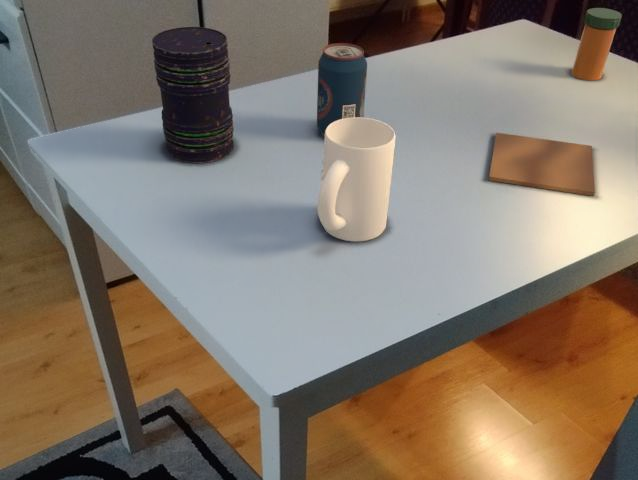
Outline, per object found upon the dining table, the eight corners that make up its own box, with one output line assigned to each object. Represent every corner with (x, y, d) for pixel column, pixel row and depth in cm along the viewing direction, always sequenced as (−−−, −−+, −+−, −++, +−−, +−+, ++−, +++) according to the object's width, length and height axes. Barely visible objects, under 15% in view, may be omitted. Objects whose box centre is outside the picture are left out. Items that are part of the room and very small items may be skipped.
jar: (600, 71, 124) (618, 13, 117) (601, 82, 120) (620, 22, 113) (571, 67, 125) (587, 9, 118) (571, 78, 121) (588, 19, 114)
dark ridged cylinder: (151, 153, 96) (135, 44, 86) (190, 126, 103) (178, 21, 93) (211, 169, 94) (201, 58, 83) (247, 140, 100) (242, 34, 90)
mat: (590, 149, 101) (592, 145, 101) (593, 196, 91) (595, 192, 91) (495, 136, 103) (496, 132, 103) (488, 180, 94) (489, 176, 93)
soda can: (310, 124, 105) (312, 43, 96) (353, 119, 106) (358, 39, 98) (324, 144, 100) (327, 61, 92) (369, 139, 102) (375, 56, 93)
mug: (290, 243, 81) (289, 149, 73) (340, 199, 89) (345, 110, 80) (350, 266, 78) (356, 171, 70) (397, 218, 86) (407, 128, 77)
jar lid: (617, 20, 118) (621, 9, 117) (619, 31, 114) (623, 20, 113) (583, 16, 119) (586, 6, 118) (584, 27, 115) (587, 16, 114)
